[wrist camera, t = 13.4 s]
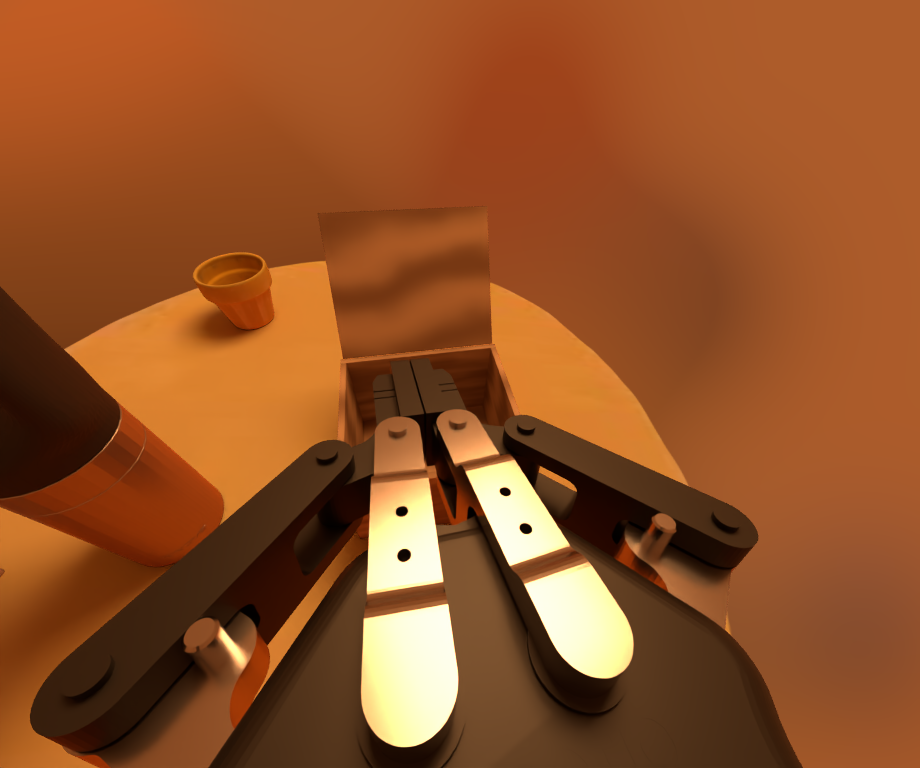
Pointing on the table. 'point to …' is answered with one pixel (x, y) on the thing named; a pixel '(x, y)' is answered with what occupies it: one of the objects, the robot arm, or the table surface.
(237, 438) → the table surface
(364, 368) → the open wooden box
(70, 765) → the table surface
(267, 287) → the plant pot
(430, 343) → the box flap
